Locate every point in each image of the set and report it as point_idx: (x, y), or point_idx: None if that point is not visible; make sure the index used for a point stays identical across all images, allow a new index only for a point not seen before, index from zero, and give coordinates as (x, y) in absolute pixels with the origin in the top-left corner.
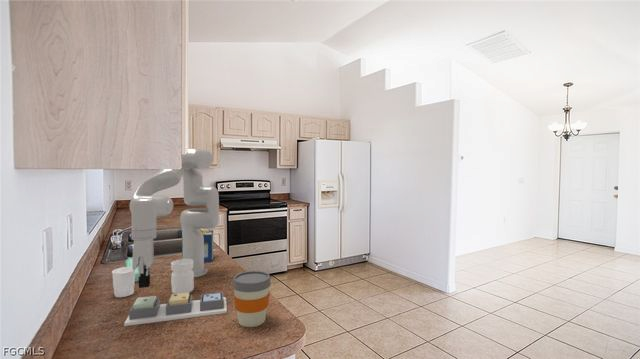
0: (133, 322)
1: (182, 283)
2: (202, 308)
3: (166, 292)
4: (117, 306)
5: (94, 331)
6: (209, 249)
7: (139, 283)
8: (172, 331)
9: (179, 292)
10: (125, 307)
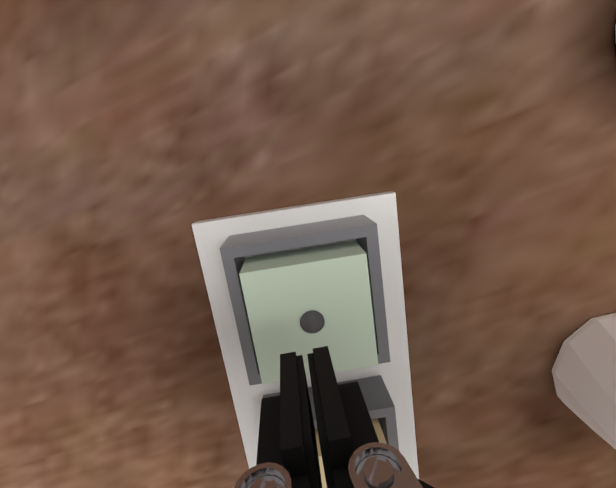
0: (202, 266)
1: (605, 419)
2: None
3: (601, 288)
4: (467, 67)
5: (145, 81)
6: None
7: (282, 385)
8: (132, 447)
9: (560, 368)
10: (439, 127)
